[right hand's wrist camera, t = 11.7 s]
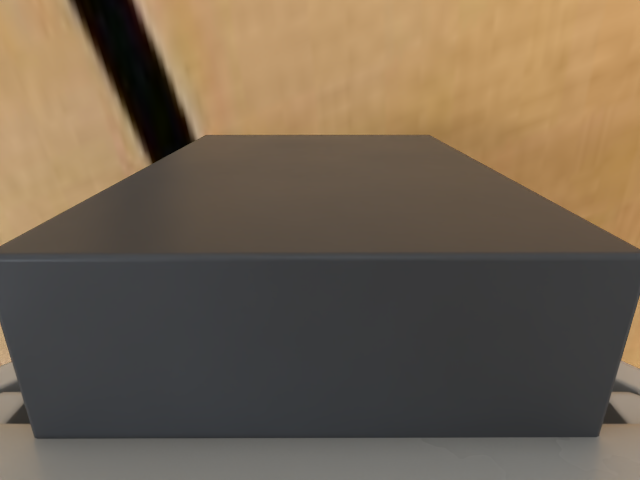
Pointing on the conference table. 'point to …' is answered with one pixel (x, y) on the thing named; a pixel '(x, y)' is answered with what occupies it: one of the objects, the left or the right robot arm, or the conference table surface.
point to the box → (317, 299)
